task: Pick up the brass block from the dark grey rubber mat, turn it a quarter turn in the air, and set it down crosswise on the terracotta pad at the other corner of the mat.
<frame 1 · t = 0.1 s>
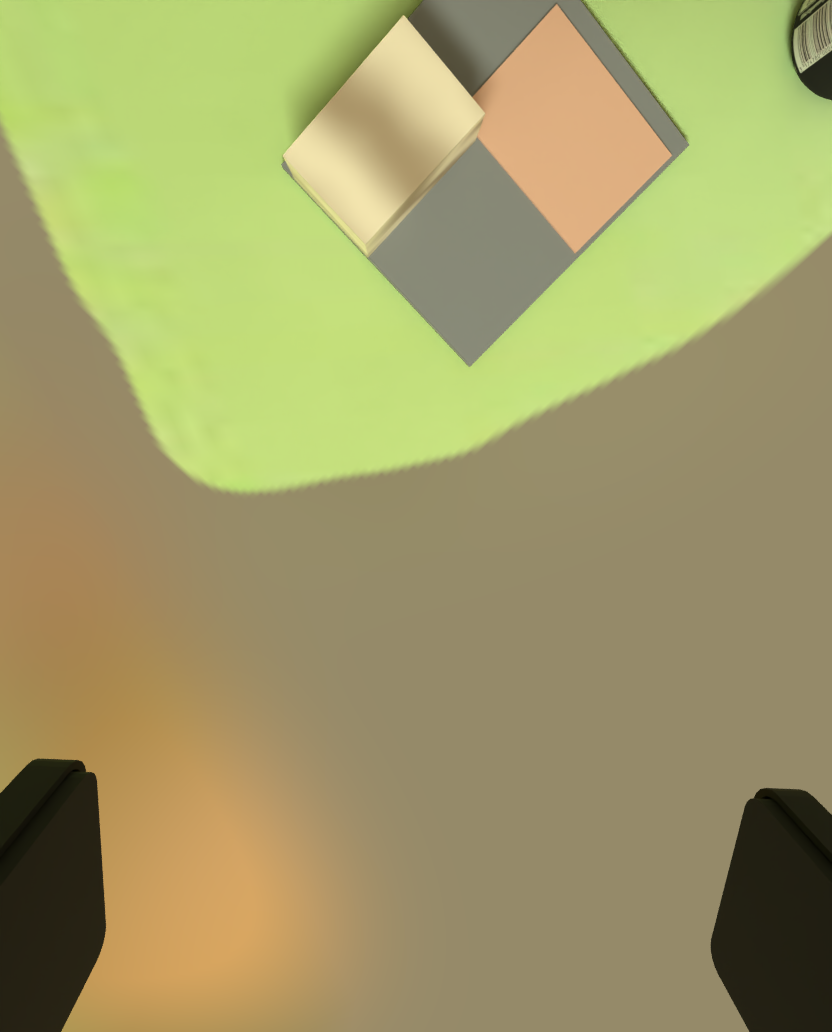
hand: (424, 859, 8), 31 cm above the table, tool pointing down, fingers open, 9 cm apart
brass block: (384, 159, 33), point 1 cm above the table, touching rubber mat
rubber mat: (485, 158, 34), on the table
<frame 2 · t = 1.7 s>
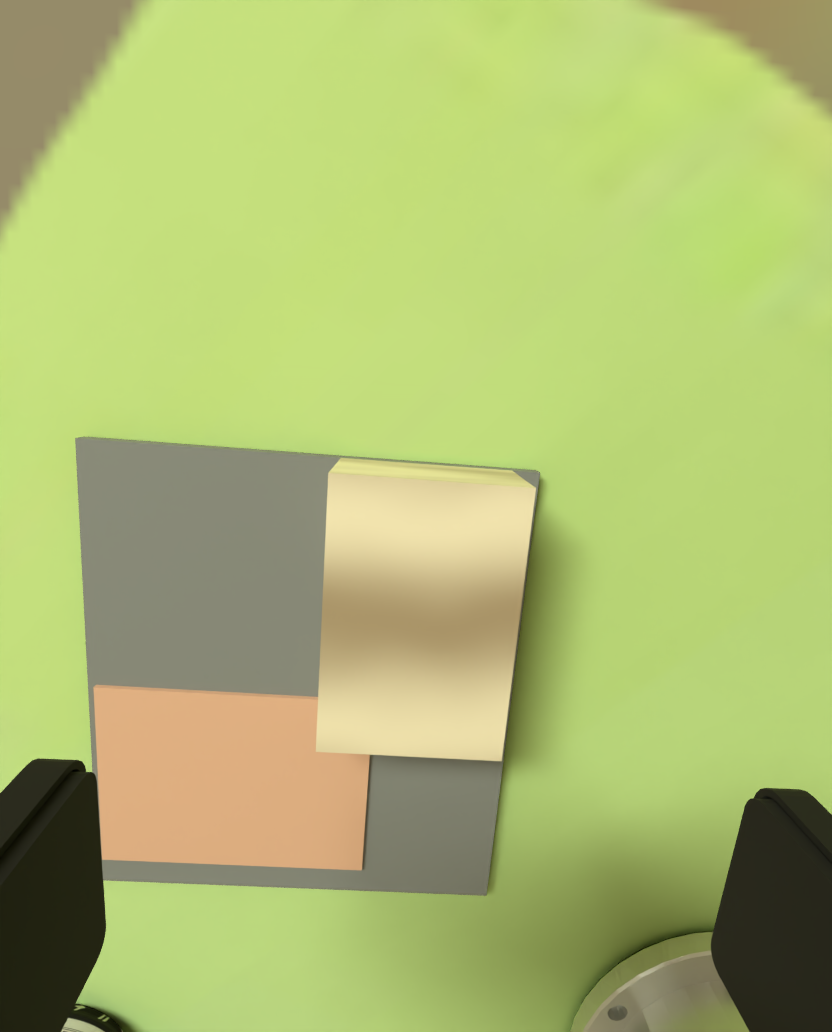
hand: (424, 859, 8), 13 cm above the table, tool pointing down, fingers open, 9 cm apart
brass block: (416, 586, 21), point 1 cm above the table, touching rubber mat
rubber mat: (305, 683, 22), on the table
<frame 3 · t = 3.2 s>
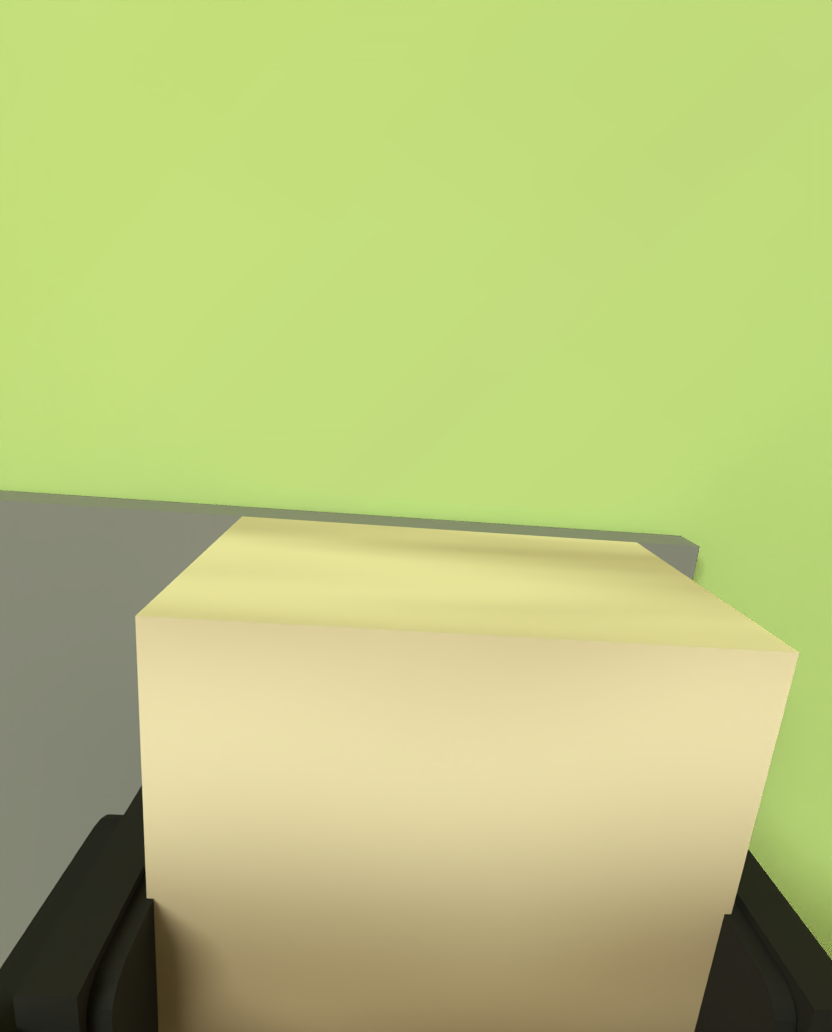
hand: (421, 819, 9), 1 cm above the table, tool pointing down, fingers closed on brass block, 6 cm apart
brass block: (419, 784, 10), point 1 cm above the table, touching gripper, rubber mat
rubber mat: (194, 953, 11), on the table
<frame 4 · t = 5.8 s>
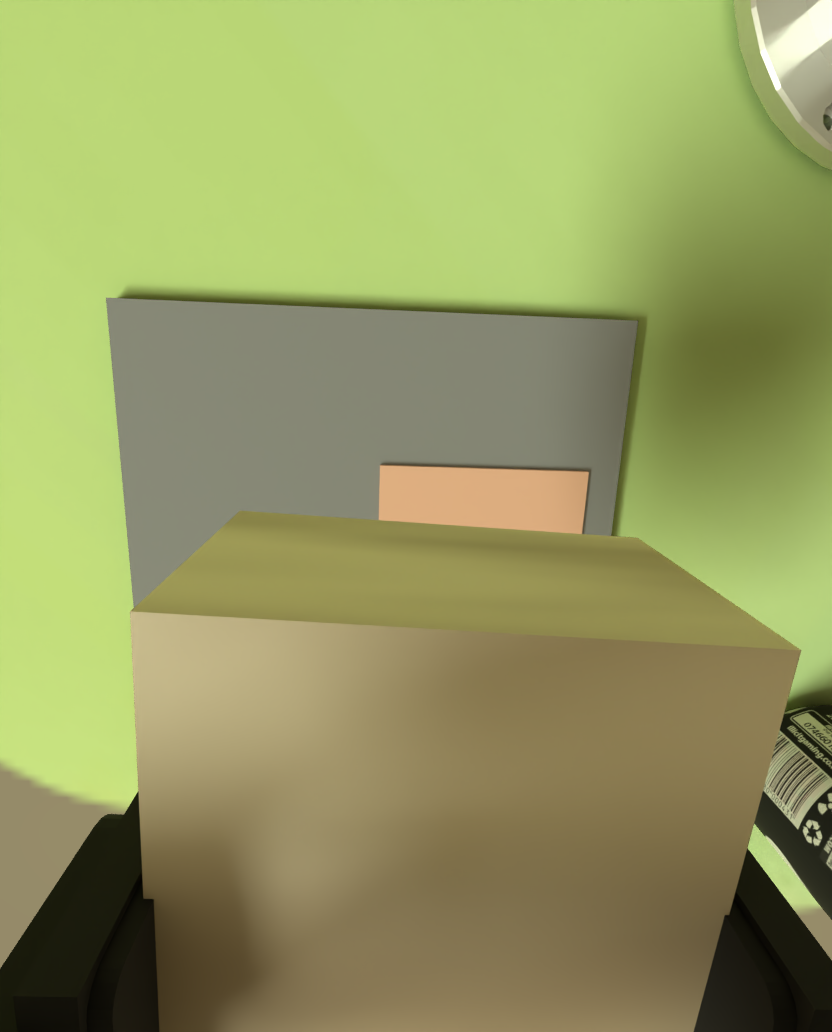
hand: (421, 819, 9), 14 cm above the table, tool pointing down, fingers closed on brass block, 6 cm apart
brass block: (418, 780, 10), point 13 cm above the table, touching gripper
beverage can: (797, 757, 25), on the table
rubber mat: (373, 531, 22), on the table
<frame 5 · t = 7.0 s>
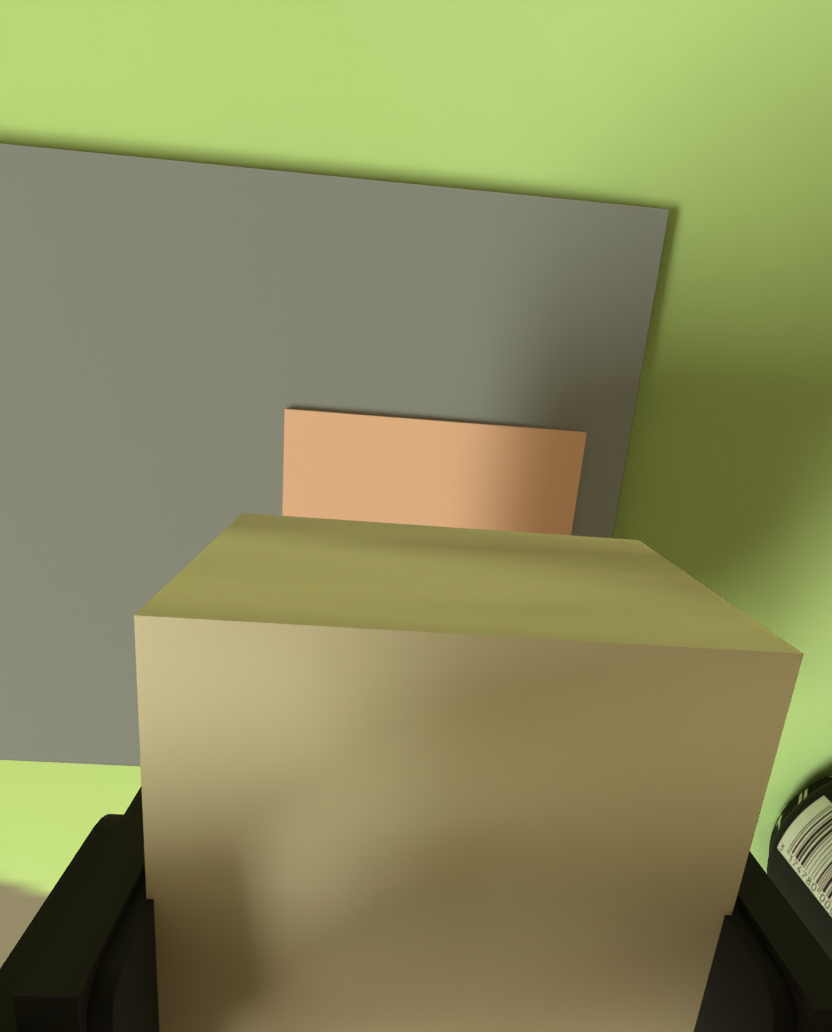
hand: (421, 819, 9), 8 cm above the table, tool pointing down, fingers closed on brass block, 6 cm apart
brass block: (419, 781, 10), point 7 cm above the table, touching gripper
rubber mat: (280, 506, 15), on the table
when the fingers open (3 cm above the table, at t = 8.3 s): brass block drops 1 cm, resting on rubber mat.
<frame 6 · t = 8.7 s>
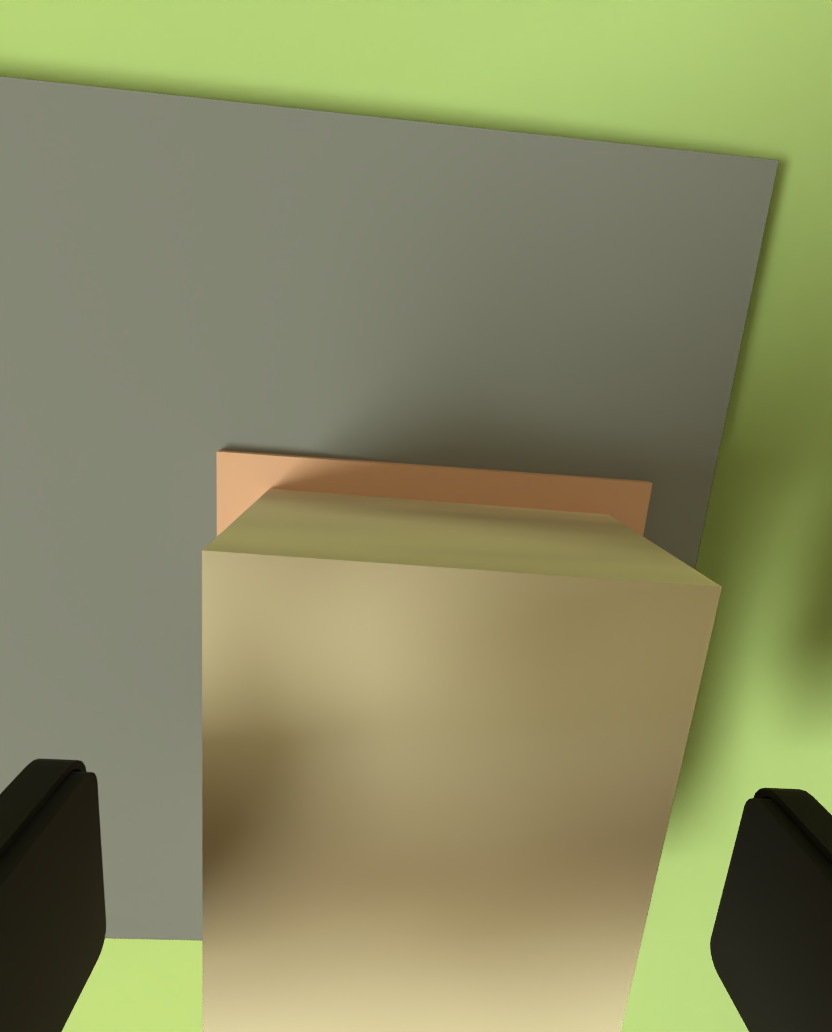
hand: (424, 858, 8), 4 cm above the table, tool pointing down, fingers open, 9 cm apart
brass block: (419, 727, 11), point 1 cm above the table, touching rubber mat
rubber mat: (218, 584, 11), on the table
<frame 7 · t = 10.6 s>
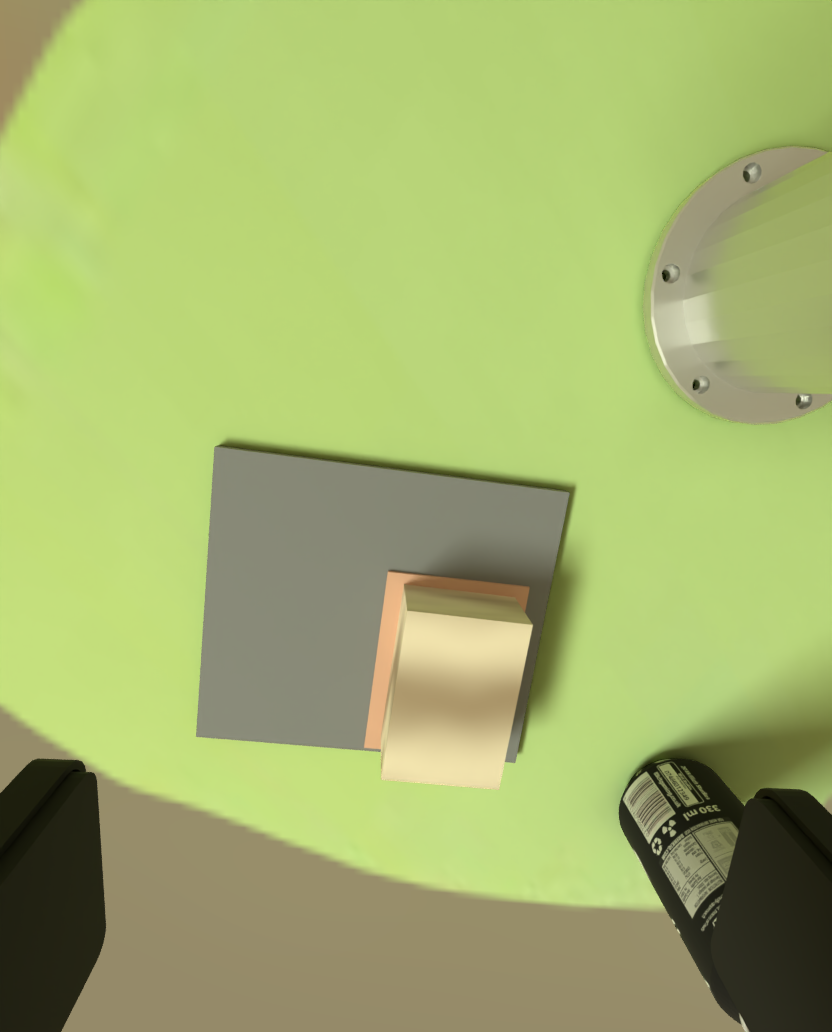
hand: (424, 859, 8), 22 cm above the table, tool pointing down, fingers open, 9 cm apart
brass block: (446, 668, 31), point 1 cm above the table, touching rubber mat
beverage can: (663, 795, 35), on the table
rubber mat: (377, 613, 31), on the table
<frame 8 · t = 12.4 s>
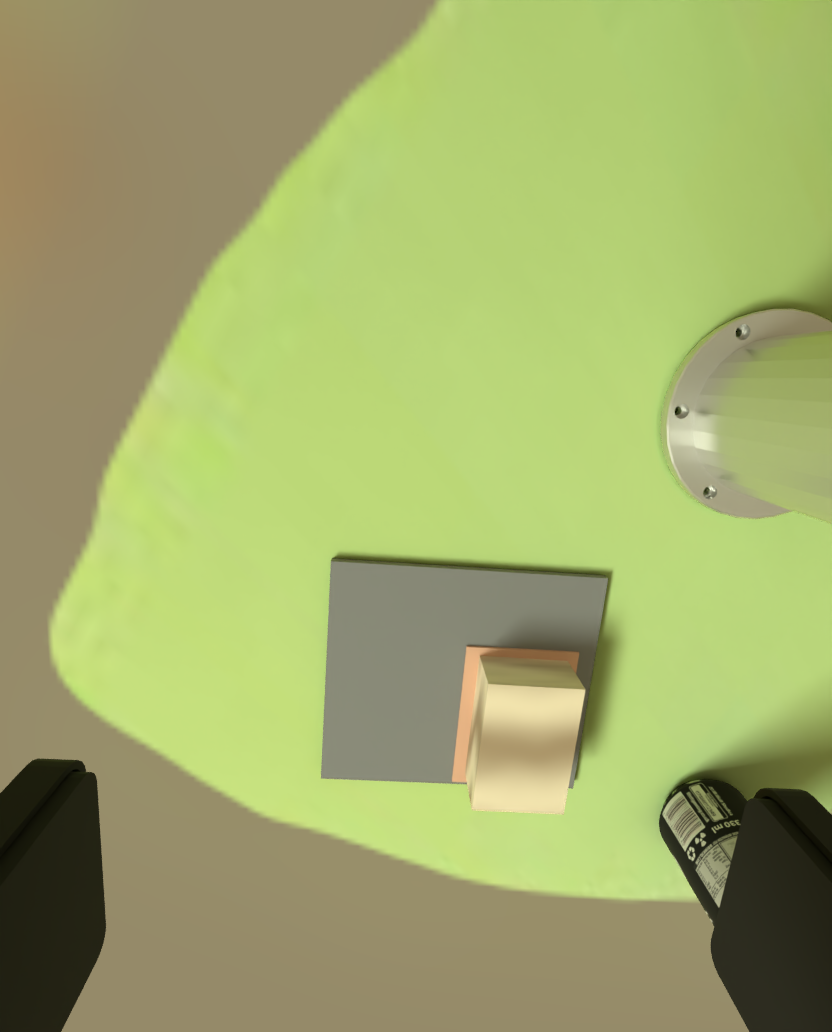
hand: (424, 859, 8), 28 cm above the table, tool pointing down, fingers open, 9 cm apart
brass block: (515, 717, 39), point 1 cm above the table, touching rubber mat
beverage can: (696, 808, 43), on the table
rubber mat: (458, 677, 39), on the table
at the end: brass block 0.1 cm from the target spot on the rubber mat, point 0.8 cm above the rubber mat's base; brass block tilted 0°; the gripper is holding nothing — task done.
